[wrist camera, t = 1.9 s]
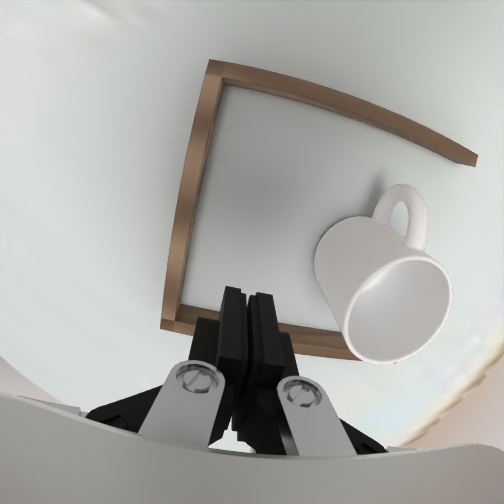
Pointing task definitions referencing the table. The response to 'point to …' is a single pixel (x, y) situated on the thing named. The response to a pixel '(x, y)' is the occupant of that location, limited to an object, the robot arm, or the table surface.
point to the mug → (384, 281)
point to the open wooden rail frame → (215, 77)
